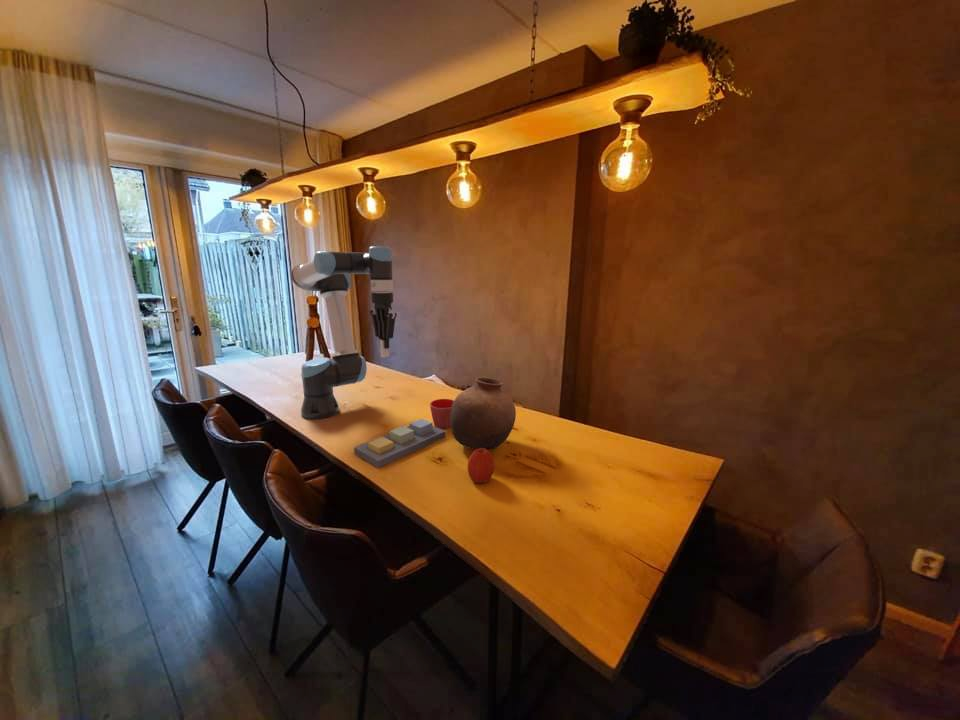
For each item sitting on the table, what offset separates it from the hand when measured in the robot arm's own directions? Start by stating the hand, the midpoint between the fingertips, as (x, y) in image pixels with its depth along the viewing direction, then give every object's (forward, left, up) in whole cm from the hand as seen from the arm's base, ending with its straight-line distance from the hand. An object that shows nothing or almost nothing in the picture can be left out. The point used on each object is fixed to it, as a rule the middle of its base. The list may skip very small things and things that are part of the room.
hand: (385, 356), depth 140 cm
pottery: (+35, +15, -30) cm, 49 cm away
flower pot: (+12, +18, -30) cm, 37 cm away
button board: (+13, -4, -30) cm, 33 cm away
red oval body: (+49, -3, -30) cm, 58 cm away
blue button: (+13, +5, -28) cm, 31 cm away
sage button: (+13, -4, -28) cm, 31 cm away
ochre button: (+13, -13, -29) cm, 34 cm away
